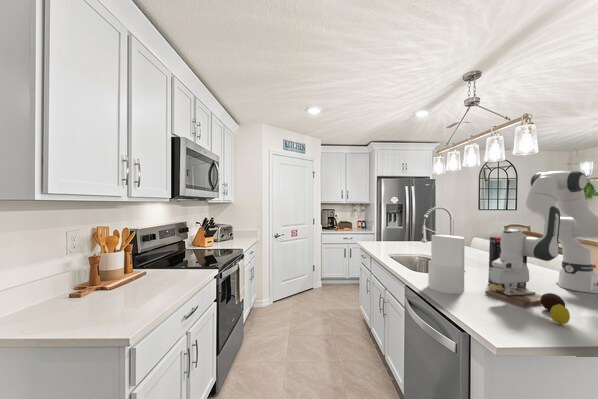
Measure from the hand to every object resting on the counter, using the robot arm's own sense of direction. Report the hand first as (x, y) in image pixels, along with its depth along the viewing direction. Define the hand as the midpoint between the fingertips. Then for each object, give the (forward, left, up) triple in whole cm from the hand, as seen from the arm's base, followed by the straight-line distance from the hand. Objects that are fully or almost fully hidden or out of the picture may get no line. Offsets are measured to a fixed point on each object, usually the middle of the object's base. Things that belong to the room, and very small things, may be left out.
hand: (510, 291), depth 137 cm
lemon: (+9, +26, -4) cm, 28 cm away
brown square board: (-6, -1, -4) cm, 7 cm away
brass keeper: (0, -6, -2) cm, 6 cm away
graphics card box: (-22, -18, -4) cm, 29 cm away
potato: (-4, +16, -4) cm, 17 cm away
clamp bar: (-6, 0, -1) cm, 6 cm away
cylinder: (+16, -23, -4) cm, 28 cm away
